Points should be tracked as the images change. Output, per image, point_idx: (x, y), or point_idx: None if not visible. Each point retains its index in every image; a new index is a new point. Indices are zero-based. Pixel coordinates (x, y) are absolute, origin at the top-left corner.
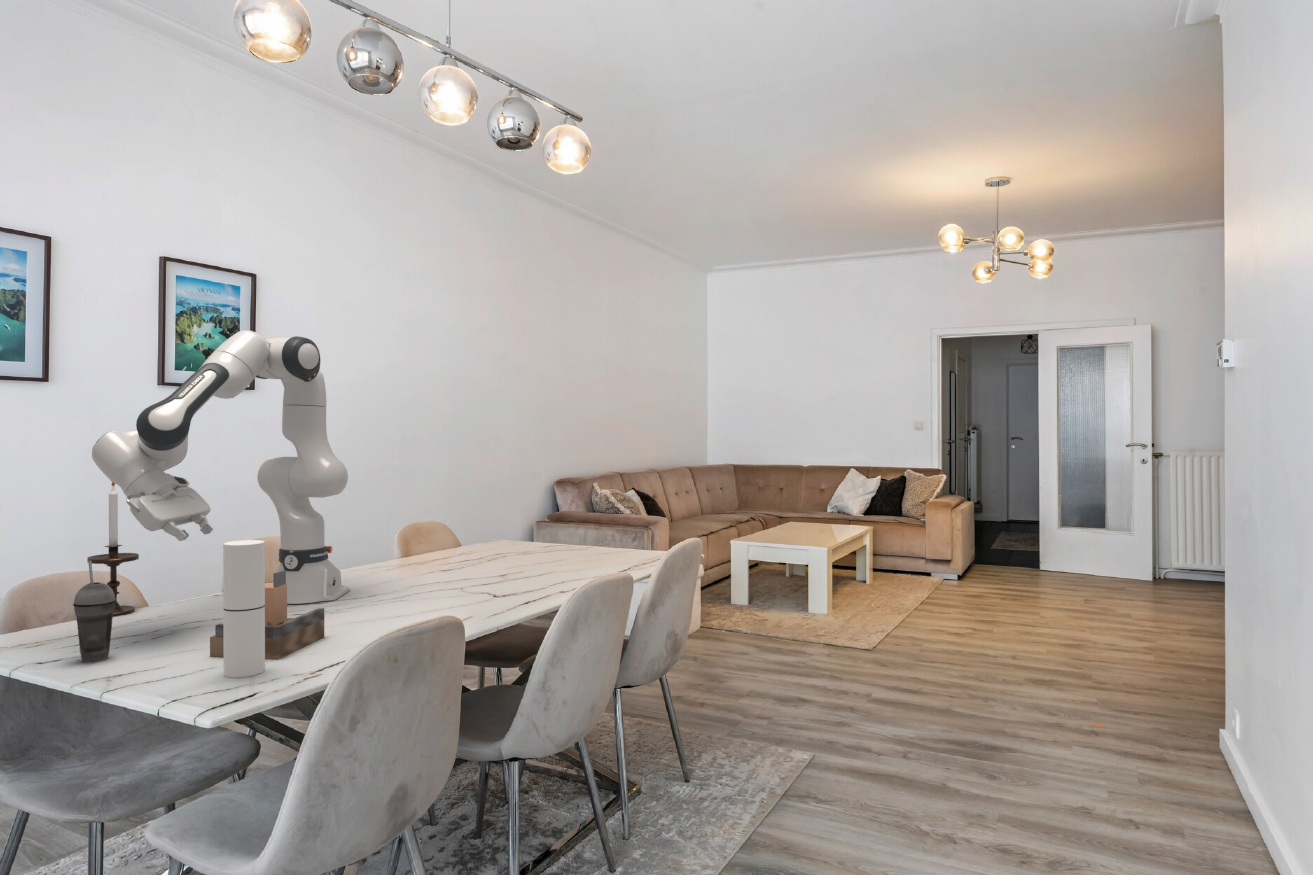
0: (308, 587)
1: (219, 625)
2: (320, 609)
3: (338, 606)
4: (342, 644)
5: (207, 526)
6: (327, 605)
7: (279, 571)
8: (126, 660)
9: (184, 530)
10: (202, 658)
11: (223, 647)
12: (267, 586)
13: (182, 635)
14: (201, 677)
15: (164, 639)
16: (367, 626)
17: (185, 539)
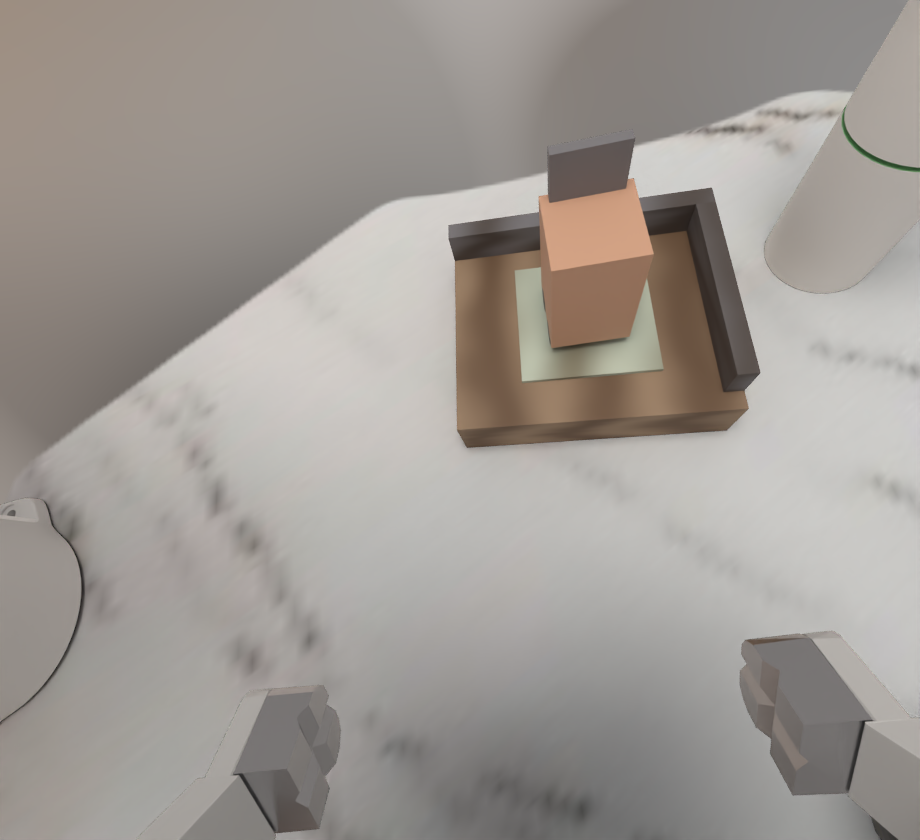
0: (12, 557)
1: (755, 359)
2: (468, 223)
3: (124, 442)
4: (523, 205)
5: (292, 728)
6: (106, 482)
7: (584, 146)
8: (873, 672)
9: (802, 707)
10: (751, 437)
11: (906, 232)
12: (614, 219)
13: (522, 715)
14: (906, 314)
15: (588, 747)
16: (351, 248)
17: (745, 676)
